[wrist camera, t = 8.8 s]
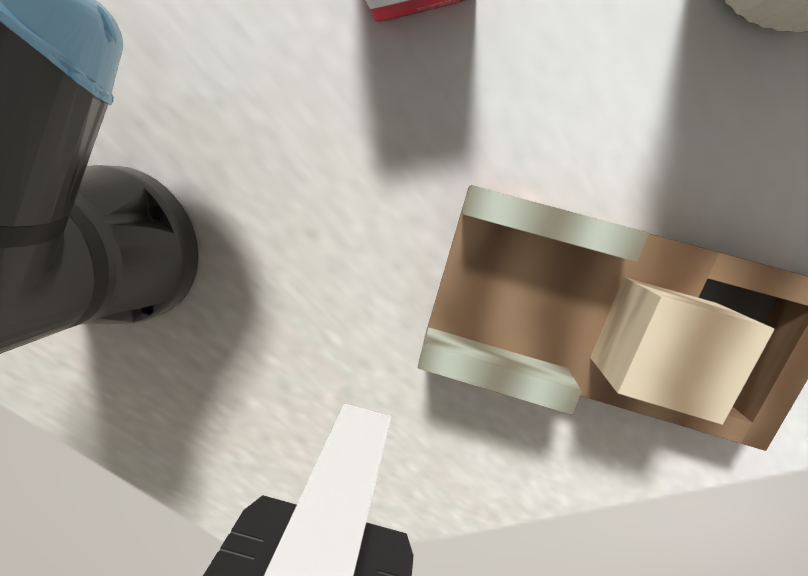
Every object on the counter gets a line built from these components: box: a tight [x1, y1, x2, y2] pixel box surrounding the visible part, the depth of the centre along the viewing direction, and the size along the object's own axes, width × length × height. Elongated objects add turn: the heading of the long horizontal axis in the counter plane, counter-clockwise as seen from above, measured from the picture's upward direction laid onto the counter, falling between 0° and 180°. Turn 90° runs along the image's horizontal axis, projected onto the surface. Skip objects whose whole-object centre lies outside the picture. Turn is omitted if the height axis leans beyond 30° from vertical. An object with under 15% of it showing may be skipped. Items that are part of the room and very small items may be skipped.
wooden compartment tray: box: [418, 185, 808, 451], centre depth 32 cm, size 29×14×8 cm, turn 75°
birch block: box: [590, 277, 774, 425], centre depth 29 cm, size 7×7×6 cm
